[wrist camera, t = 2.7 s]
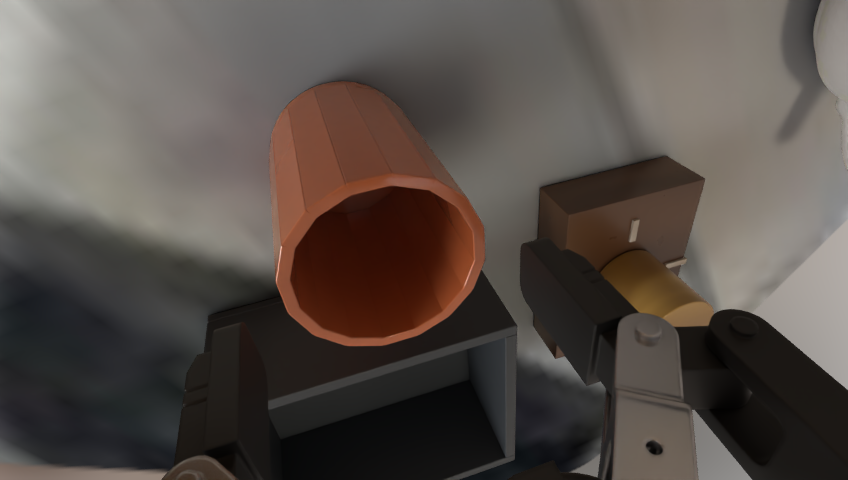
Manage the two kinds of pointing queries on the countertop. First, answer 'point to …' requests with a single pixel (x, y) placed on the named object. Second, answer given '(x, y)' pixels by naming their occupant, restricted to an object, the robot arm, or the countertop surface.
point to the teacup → (834, 57)
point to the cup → (366, 220)
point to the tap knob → (656, 289)
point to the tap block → (622, 216)
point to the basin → (388, 395)
